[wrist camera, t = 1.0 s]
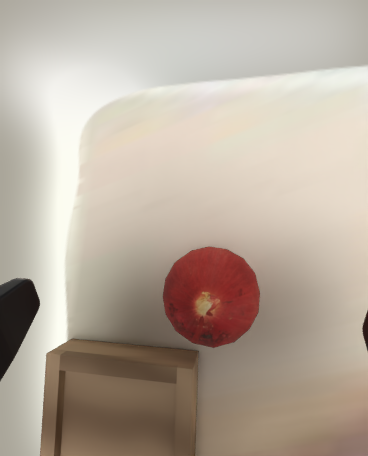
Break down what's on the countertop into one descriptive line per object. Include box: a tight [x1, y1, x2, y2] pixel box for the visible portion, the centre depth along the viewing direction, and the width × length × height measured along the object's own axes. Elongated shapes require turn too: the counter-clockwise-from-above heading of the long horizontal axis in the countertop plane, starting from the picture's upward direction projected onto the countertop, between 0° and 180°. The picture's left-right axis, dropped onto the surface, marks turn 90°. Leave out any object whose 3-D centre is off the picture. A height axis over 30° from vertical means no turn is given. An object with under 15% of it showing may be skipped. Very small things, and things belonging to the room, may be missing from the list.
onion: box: [163, 247, 260, 348], centre depth 18 cm, size 6×6×8 cm
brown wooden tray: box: [40, 339, 199, 456], centre depth 20 cm, size 10×10×3 cm
